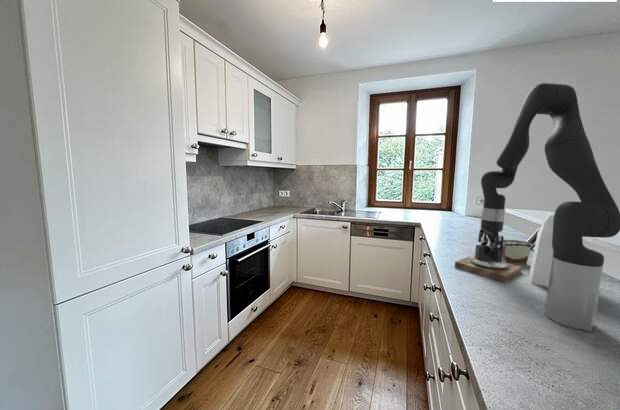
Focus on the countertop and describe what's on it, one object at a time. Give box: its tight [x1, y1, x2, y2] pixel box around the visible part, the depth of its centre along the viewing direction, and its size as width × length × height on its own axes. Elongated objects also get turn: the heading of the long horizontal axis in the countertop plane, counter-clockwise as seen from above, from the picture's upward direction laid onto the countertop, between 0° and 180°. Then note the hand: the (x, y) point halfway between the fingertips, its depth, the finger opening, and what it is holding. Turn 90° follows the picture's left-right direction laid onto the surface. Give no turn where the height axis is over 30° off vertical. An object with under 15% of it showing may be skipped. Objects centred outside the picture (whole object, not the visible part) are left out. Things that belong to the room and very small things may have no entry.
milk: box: [528, 213, 554, 288], centre depth 90 cm, size 12×12×26 cm
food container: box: [502, 239, 533, 265], centre depth 114 cm, size 12×6×10 cm, turn 84°
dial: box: [469, 244, 507, 269], centre depth 103 cm, size 13×13×8 cm
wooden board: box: [454, 254, 522, 283], centre depth 104 cm, size 18×18×3 cm
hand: (488, 256), depth 103 cm, fingers open, 8 cm apart
